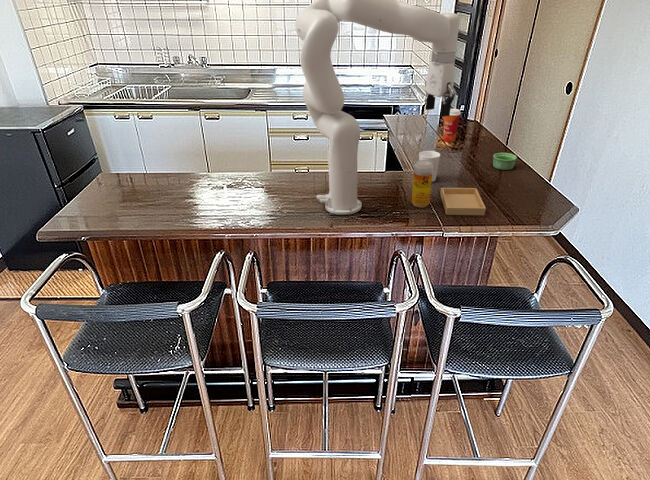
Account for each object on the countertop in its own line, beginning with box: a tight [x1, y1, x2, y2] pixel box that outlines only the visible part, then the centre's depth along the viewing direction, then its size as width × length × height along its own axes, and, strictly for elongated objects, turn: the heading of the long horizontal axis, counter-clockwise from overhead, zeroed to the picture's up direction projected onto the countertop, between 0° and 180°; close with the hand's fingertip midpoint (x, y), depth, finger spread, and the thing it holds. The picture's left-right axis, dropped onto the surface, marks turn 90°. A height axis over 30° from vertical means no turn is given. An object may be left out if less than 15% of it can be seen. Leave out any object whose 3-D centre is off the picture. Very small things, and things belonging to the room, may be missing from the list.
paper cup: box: [442, 108, 462, 143], centre depth 206 cm, size 8×8×14 cm
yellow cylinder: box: [411, 159, 433, 209], centre depth 147 cm, size 6×6×15 cm
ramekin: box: [492, 152, 518, 171], centre depth 178 cm, size 9×9×4 cm
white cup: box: [418, 150, 441, 183], centre depth 167 cm, size 8×8×10 cm
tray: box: [439, 187, 487, 216], centre depth 150 cm, size 12×16×3 cm
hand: (437, 112), depth 149 cm, fingers open, 9 cm apart
